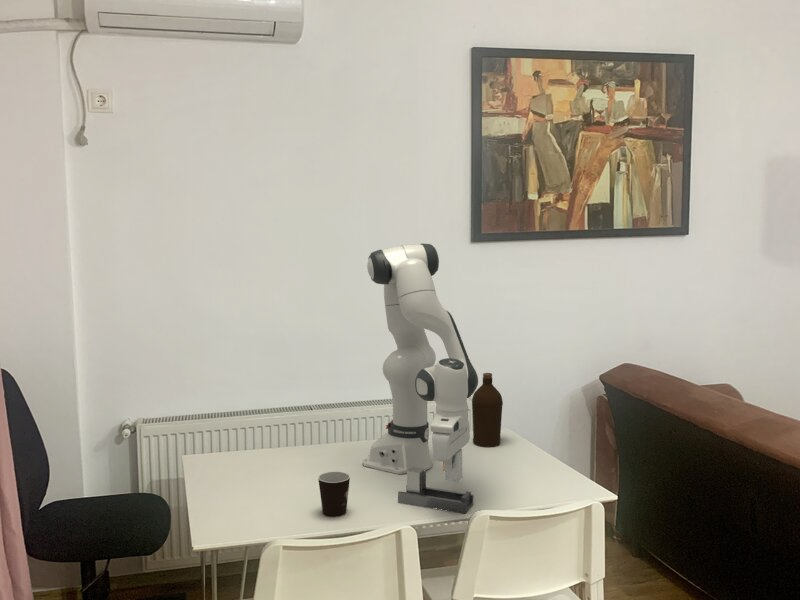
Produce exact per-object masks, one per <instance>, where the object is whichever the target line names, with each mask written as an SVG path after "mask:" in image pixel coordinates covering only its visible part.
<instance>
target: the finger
mask: <svg viewBox="0 0 800 600" xmlns="http://www.w3.org/2000/svg"><path fill="white" fill-rule="evenodd" d="M452 464H453V470H452V471H446V470H445V463H444V462H443V461H442V471H443V472H444V481H447V482H456V483H458V482H460V481H461V480H462V479H463V475H464V474H463V449H462V448H461V449H460V450H459V451H458V452H457V453H456V454H454V455H453V456H452Z"/></svg>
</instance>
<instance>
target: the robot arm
mask: <svg viewBox="0 0 800 600" xmlns="http://www.w3.org/2000/svg"><path fill="white" fill-rule="evenodd" d="M439 258H440V257H439V254H438V251H437V249H436V247H435V246H433V244H430V243H420V244H416V243H415V244H404V245H403V244H402V245H400V246H399V245H398V246H394V247H389V248H386V249H377V250H375V251H372V252H371V253H369V255H368V258H367V259H368V261H367V272H368V275H369V277H370V279H371V281H372V282H373V283H375V284H378V285H383V300H384V308H385V316H386V323H387V329H388V332H390V333H391V335H392V336H393V339H394V342H395V345H396V346H397V349H396V350H394V351H392V352H391V353H390V354H389V355H388V356H387V357H386V359H384V361H383V364H382V374H383V376H384V378H385V380H386V381H388V384H389V388H390V393H391V397H392V419H391V420H390V422H388V423H387V425H385V430H387V432H386V433H385V434H384V435H382V436H380V437H379V438H378V439H377V440H375V441H374V442H372V443H373V444H372V445H371V448H370V452H369V454H368V455H367V456H366V457H365V458H364V459H363V460H362V465H364V466H363V467H367V468H372V469H376V470H380V471H384V472H387V473H393V474H397V475H403V474H407V471H408V470H409V469H410V468H411V467H416V468H423V469H425V471H426V470H429V469H431V468H432V467H433V462H432V459H431V454H430V449H429V448H430V447H429V437H430V432H431V433H432V436H431V437H432V438H431V443H432V445H431V446H432V447H431V448H432V457H433V458H434V461H436V462H442V463H443V462H444V463H445V470H446V471H452V470H453V464H452V456H453V455H454V454H456V453H457V452H458V451H459V450H460V449H462V448H464V447H465V446H466V445H467V444H468V443H469V442H470V440H471V439H470V435H471V432H470V422H469V405H468V399H469V398H470V397H471V396H473V395H474V393H475V392H476V391H477V389H478V387H479V386H478V384H479V377H478V373H477V371H476V369H475V367H474V366H473V364H472V362H471V360H470V358H469V355H468V352H467V350H466V348H465V345H464V342H463V339H462V337H461V335H460V331H459V329H458V327H457V324H456V322H455V319H454V317H453V315H452V314H451V313H450V312H449V311H448V310H446V309H445V308H444V307H443V305H442V303H441V302H440V301H439V299H438V296H437V291H436V288H435V284H434V280H433V277H432V276H434V275H435V274H436V273H437V272H438V271H439V265H440V259H439ZM425 330H427V331H430V332H433V333H434V334H435V335H437V336H438V337H439V338H440V339H441V341H442V343H443V345H444V347H445V350H446V353H447V356H448V358H442V359H440V360H438V361H437V362H436V360H437V356H436V353H435V350H434V348H433V347H432V346H431V345H430V342H429V340H428V337H427V333H426V331H425ZM467 398H468V399H467ZM428 402H436V403H435V404H436V407H435V414H434V418H433V420H432V422H431V423H430V424H429V422H428ZM429 425H430V426H429Z"/></svg>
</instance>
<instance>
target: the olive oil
mask: <svg viewBox="0 0 800 600" xmlns="http://www.w3.org/2000/svg"><path fill="white" fill-rule="evenodd" d="M503 405H504V403H503V397H502V394H501V393H500V391H499V390H498V389H497V388H496V387H495V386H494V384H493V374H492V373H491V372H484V373H482V384H481V385H480V386H478V388H477V389H476V390H475V392H474V393H473V394H472V399H471V408H472V411H471V412H472V433H473V434H472V436H473V437H472V441H473V442H472V443H473V444H474V445H475V446H478V447H480V448H481V447H482V448H494V447H495V448H496V447H498V446H500V445H501V433H502V432H501V431H502V413H503Z"/></svg>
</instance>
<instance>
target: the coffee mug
mask: <svg viewBox="0 0 800 600" xmlns="http://www.w3.org/2000/svg"><path fill="white" fill-rule="evenodd" d="M317 477H318V478H317V479H318V487H319V495H320V501H321V502H320V503H321V509H322V514H323V516H326V517H329V518H337V517H338V518H339V517H342V516H344V515H346V513H347V507H348V498H349V488H350V483H351V482H350V480H351V475H350V474H349V473H347V472H342V471H327V472H323V473H321V474H319V475H318V476H317Z"/></svg>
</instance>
